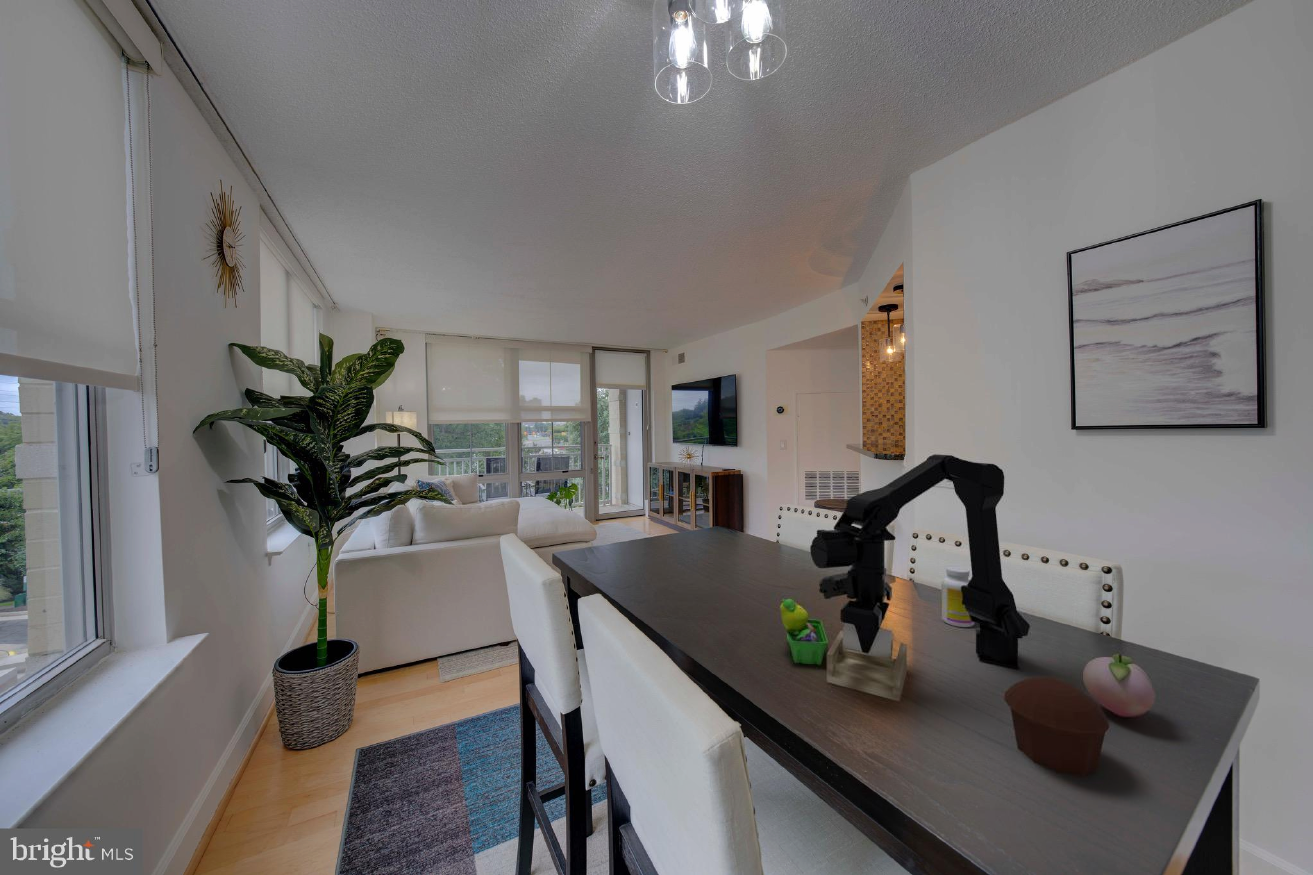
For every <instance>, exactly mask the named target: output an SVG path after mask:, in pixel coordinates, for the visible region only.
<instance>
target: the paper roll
mask: <svg viewBox="0 0 1313 875" xmlns="http://www.w3.org/2000/svg"><path fill="white" fill-rule="evenodd" d="M842 631H843V638H842V642H843V648H844V649H846V650H850V651H855V652H859V653H863V652H862V650H861V646H860V642H859V639H858V635H857V632H856V629H855V626H854V625H853V624H848V623H843V630H842ZM893 648H894V632H893V630H890V629H885V628H882V627H880V628H879V631H878V633H877V635H876V638H875V640H874V642H873V644H872V647H871V649H870V651H869V653H863V654H868V655H872V656H877V657H881V658H885V659H890V660H891V659H893V658H892V657H893V652H894V651H893Z"/></svg>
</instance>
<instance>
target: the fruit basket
mask: <svg viewBox="0 0 1313 875" xmlns="http://www.w3.org/2000/svg"><path fill="white" fill-rule="evenodd" d="M781 602H782V603H781V604H780V606H779V609H780V614H781V621H782V624H783V626H784V627H785V630H786V637H787V641H788V644H789V647H790V650H791V654H792V655H791V656H792V659H793V662H794V663H796V664H805V665H807V664H808V665H819V666H821V665H822V662H823V657H824V655H825V651H826V650H825V649H826V647H827V646H828V643H829V640H828V638H827V635H826V631H825V629H824V625H823V622H822V621H821V620H818V619H811V618H809V614H808V612H807V610H806V609H805V608H803V606H802V605H799V604H798V603H796V602H795V601H794V599H791V598H787V599H785V598H783V599H782V601H781Z"/></svg>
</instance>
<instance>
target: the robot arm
mask: <svg viewBox="0 0 1313 875" xmlns="http://www.w3.org/2000/svg"><path fill="white" fill-rule="evenodd" d="M944 480H947V481H950V482H952V486H953V488H954V492H955V495H956V496H957V498H958V499H959V500H960V502H961V503H962V504H963V506H964V507H965V516H966V527H967V536H968V538H967V539H968V548H969V556H970V566H971V578H970V579H969V580H970V581H969V583H968V584H967V585H962V586H961V592H962V604H963V605H965V609H966V611H967V612H968V613H969V616H970V619H971V621H972V622H974V624H978V629H975V654H976V655H978V661H980V662H985V663H988V664H994V665H999V666H1003V667H1007V668H1012V669H1013V668H1014V669H1018V670H1019V669H1020V666H1021V665H1020V662H1019V639H1020V640H1021V639H1023V637H1027V636H1028V634H1029V632H1030V628H1031V625H1030V624H1029V622H1028V621H1027V620H1026V619H1025V618H1024V617H1023V616H1022V615H1021V614H1020V613H1019V611H1018V610H1017V606H1016V601H1015V597H1014V594H1013V592H1012V591H1011V590H1010V588H1009V587H1008V585H1007V584H1006V583H1005V580H1004V579H1003V574H1002V561H1001V550H1000V549H1001V548H1000V541H999V530H998V521H997V520H998V519H997V509H996V508H997V505H998V504H999V502H1000V501H1001V500H1002V498H1003V496H1004V492H1005V474H1004V471H1003V469H1002V468H1000V467H999V466H998V465H996V463H986V462H974V461H969V460H965V459H962V458H959V457H957V456H954V455H952V454H951V455H950V454H932V455H929V456H928V457H927V458H926V460H924V461H922V462H921V463H920V464H917V465H916V466H915V467H913V468H911V469H910V470H908V471H907V472H905V473H904V474H902V475H900V476H899V477H898V478H895V479H893V480H892V481H891V482H889V483H888V484H886V485H884V486H882V487H879V488H876V489H871V490H866V491H864V492H861V493H859V494H856V495H853V496H851V497H850V498H849V499H848V501H847V502H846V507H845V509H844V511H843V512H842V513H841V515H840V517H839V519H838V520H837V521H836V523H835V524H834V526H833V529H829V530H826V529H817V530H816V536H814V538H813V539H812V541H811V545H810V546H809V550H810V557H811V559H812V560H811V561H812V562H813V563H814V565H815V566H816V568H818V569H833V568H844V567H850V568H849V570H847V572H843V573H838V574H833V575H828V576H824V577H823V578H822V579H821V580H819V582H818V585H819V586H818V587H819V590H818V591H819V593H821V594H822V595H823V598H824V599H825V600H829V599H830V600H831V598H835V597H840V596H846V599H849V600H848V601H846V603H844V604H843V605H842V608H841V609H840V610H839V611H840V612H839V613H840V619H839V620H840V622H842V623H843V624H845V623H848V624H853V625H854V626H855V629H856V632H857V635H858V639H859V642H860V646H861V650H862V652H863V653H869V651H870V649H871V647H872V644H873V642H874V640H875V638H876V635H877V633H878V631H879V628H881V625H882V623H883V621H884V620H883V618H884V616H885V617H886V614H887V611H888V609H889V606H890V603H889V602H890V601H891V600H892V599H893V598H892V597H893V587H892V586H891V585H890V584H889V583H888V582H886V580H885V579H886V578H885V577H886V575H887V568H886V567H885V565H886V563H885V556H886V555H885V549H886V548H885V546H886V545H885V542H887V541H889V542H890V541H895V540H896V536H895V535H893V534H892V532H890V531H889V530H888V528H887V527H888V526H890V524H892V522H894V521H895V520H896V519H897V518H898V516H899V513H900V511H901V510H902V509H903V507H904V506H906V505H907V504H909V503H911V502H912V501H913V500H915V499H917V498H918V497H919V496H921V495H923V494H925V493H926V492H927V491H929V490H931V489H932V488H934V487H935V486H936V485H938V484H940V483H941V482H943V481H944ZM855 525H856V526H855ZM852 600H855V601H852ZM885 600H886V601H889V602H886V601H885Z"/></svg>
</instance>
